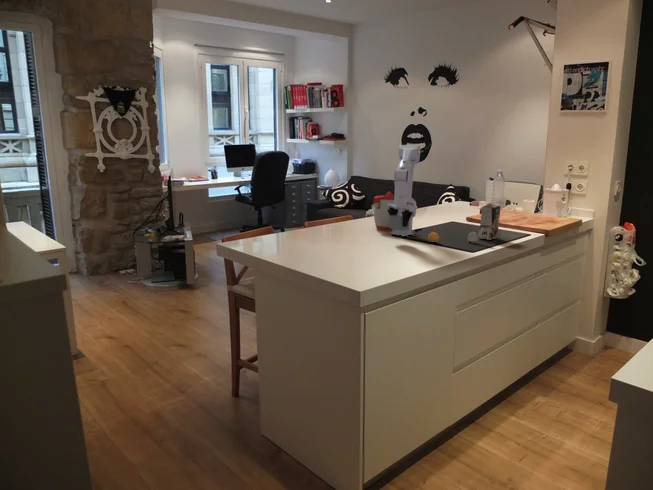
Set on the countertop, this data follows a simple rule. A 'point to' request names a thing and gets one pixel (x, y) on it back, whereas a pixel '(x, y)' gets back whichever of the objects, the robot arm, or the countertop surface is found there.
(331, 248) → the countertop surface
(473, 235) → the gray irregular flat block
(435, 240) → the ball
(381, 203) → the citrus juicer
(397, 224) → the grey-green cube
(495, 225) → the coffee box
